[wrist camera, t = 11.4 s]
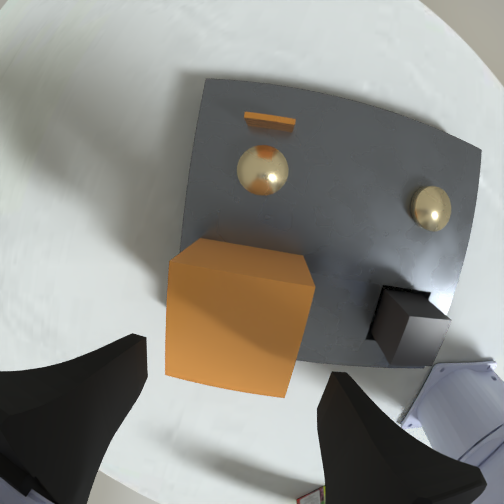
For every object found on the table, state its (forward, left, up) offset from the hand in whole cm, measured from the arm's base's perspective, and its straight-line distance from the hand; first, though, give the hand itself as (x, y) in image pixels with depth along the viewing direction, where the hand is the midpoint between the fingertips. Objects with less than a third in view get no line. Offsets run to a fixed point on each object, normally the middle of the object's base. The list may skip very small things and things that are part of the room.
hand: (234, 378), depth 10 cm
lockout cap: (0, -1, -7) cm, 7 cm away
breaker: (-10, -1, -7) cm, 12 cm away
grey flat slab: (-4, -5, -9) cm, 11 cm away
